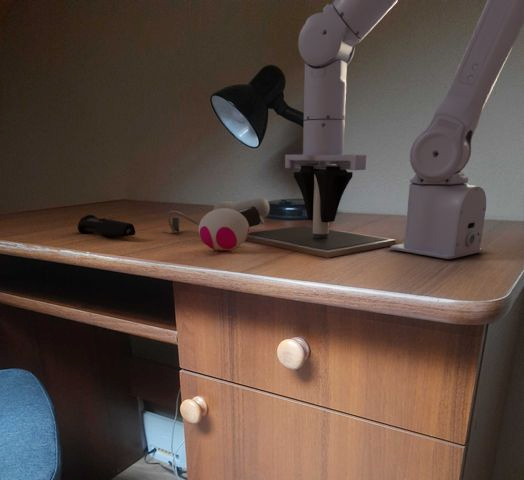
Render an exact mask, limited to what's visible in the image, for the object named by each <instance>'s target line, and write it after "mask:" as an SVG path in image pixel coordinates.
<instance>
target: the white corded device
mask: <svg viewBox="0 0 524 480" xmlns="http://www.w3.org/2000/svg"><path fill="white" fill-rule="evenodd" d="M221 208H227V209H232V210H235V211H237V212H239V213H241V214H242V215H243V216H244V217H245V218H246V220H247V222H248V224H249V228H251V227H255V226H259V225H264V224H265V221H264V218H267V216H268V215H269V213H270V211H271V210H270V209H271V207H270V203H269V202H268V200H267V199H266V198H264V197H263V196H262V197H256V198H253V199H248V200H243V201H240V202H239V201H238V202H235V203H233V202H232V201H228V200H222V201H218V202H216V203H215V204H214V206H213V210H216V209H221ZM172 214H176V215H179V216H181V217H182V218H184V219H186V220H187V221H189V222H191V223H193V224H195V225H197V226H199V224H200V222H199V221H198V220H195V219H193V218H191V217H190V216H188V215H186V214H184V213H182V212H180V211H177V210H170V211H169V212H168V213H167V221H168V223H169V227H170V229H171V231H172V233H173V234H177V233H179V232H180V218H179V216H175V217H173V218H172V220H171V215H172Z"/></svg>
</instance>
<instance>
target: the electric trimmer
mask: <svg viewBox="0 0 524 480" xmlns="http://www.w3.org/2000/svg"><path fill="white" fill-rule="evenodd" d="M77 231H78V233H80V234H85V233H95V234H100V235H101V236H102V237H106V238H122V237H123V238H125V237H130V236H135V235H136V229H135V226H134V224H133V223H130V222H125V221H119V220H115V219H108V218H98V217H97V216H95V215H93V214H87V215H85V216H82V217H81V218H80V220H79V222H78V224H77Z"/></svg>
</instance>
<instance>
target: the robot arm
mask: <svg viewBox="0 0 524 480" xmlns="http://www.w3.org/2000/svg"><path fill="white" fill-rule="evenodd" d="M398 2H399V0H333V1H332V2H331V3H330V4H329V3H326V5H325V6H324V7H323V9H322V12H316V13H313V14H312V15H310V16H308V18H307V19H306V21H305V23H304V24H303V26H302V27H301V29H300V32H299V34H298V42H297V46H298V52H299V55H300V57H301V58H302V60H303V61H304V62H305V63H304V83H303V129H302V130H303V134H302V135H303V136H302V137H303V138H302V154H285V155H284V168H285V169H299V171H293V179H294V181H295V182H296V183H297V187H298V188H299V190H300V193H301V196H302V199H303V203H304V207H305V212H306V217H307V220H308V221H311V222H313V203H314V174H315V176H316V179H317V183H318V187H319V193H320V215H321V221H322V222H324V223H326V222H329V223H332V222H335V220H336V216H337V214H338V209H339V206H340V203H341V200H342V198H343V195H344V193H345V191H346V189H347V187H348V185H349V184H350V181H351V180H352V178H353V173H354V172H353V171H366V167H367V154H353V153H352V154H351V153H350V154H347V153H345V154H344V149H345V148H344V147H345V128H346V127H345V124H346V103H347V102H346V101H347V69H348V66H349V64H350V62H352V60H353V57H354V55H355V49H356V45H358V44H360V43H361V42H362V40H364V38H365V37H366V36H367V35H368V34H369V33H370V32H371V31H372V30H373V29H374V27H376V26H377V24H379V22H380V21H381V20H382V19H383V18H384V17H385V15H387V14H388V13H389V11H390V10H391V9H392V8H393V7H394V6H395V5H396V4H397V3H398ZM523 26H524V0H486V2H485V5H484V7H483V9H482V12H481V14H480V16H479V18H478V20H477V23H476V25H475V27H474V30H473V32H472V35H471V36H470V38H469V41H468V44H467V46H466V49H465V51H464V53H463V55H462V58H461V59H460V62H459V65H458V66H457V69H456V71H455V74H454V76H453V78H452V80H451V83H450V85H449V87H448V90H447V92H446V95H445V96H444V98H443V100H442V101H441V102H440V104H439V105H438V107H437V108H436V110H435V111H434V113H433V115H432V118H431V120H430V122H429V123H428V126H427V127H426V128H425V129H424V130H422V132H420V133H419V134H418V135H417V136H416V138H415V139H414V141H413V142H412V145H411V148H410V151H409V162H410V166H411V168H412V170H413V172H414V173H415V175H414V176H413V178H409V189H408V197H407V198H408V199H407V211H406V219H405V220H406V221H405V232H404V242H403V243H398V244H395V245H393V246H389V247H390V248H389V249H390V250H393V251H399V252H404V253H411V254H415V255H421V256H426V257H433V258H438V259H443V260H453V259H457V258H461V257H466V256H470V255H474V254H478V253H481V252H483V250H484V249H483V248H482V247H481V245H482V237H483V232H484V231H483V230H484V223H485V217H486V211H487V195H486V192H485V190H484V189H483V188H482V187H481V186H479V185H471V184H468V183H469V177H468V176H466V175H465V173H464V171H463V170H464V169H465V168H466V166H467V165H468V163H469V161H470V158H471V155H472V140H473V136H474V134H475V132H476V130H477V128H478V125H479V121H480V119H481V116H482V113H483V110H484V108H485V105H486V104H487V101H488V99H489V98H490V95H491V93H492V92H493V89H494V87H495V85H496V82H497V81H498V79H499V76H500V74H501V72H502V69H503V68H504V66H505V64H506V62H507V60H508V57H509V56H510V53H511V51H512V49H513V47H514V45H515V43H516V41H517V38H518V37H519V35H520V32H521V31H522V28H523ZM318 162H328V164H318Z"/></svg>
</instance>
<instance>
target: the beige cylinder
mask: <svg viewBox="0 0 524 480" xmlns="http://www.w3.org/2000/svg"><path fill="white" fill-rule="evenodd" d="M312 227H313V237H314V238H327V237H328V233H329V229H330V222H326V223H324V222H322V221H321V215H320V193H319V187H318V183H317V179H316V176H315V174H314V203H313V220H312Z"/></svg>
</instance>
